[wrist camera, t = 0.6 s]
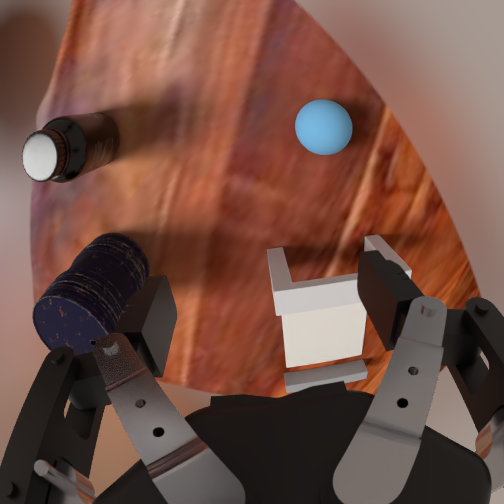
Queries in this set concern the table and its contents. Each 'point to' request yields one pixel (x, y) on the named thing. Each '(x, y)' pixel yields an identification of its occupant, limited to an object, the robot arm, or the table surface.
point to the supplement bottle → (70, 147)
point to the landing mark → (324, 334)
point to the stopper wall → (325, 375)
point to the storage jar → (91, 294)
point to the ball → (323, 127)
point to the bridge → (320, 282)
